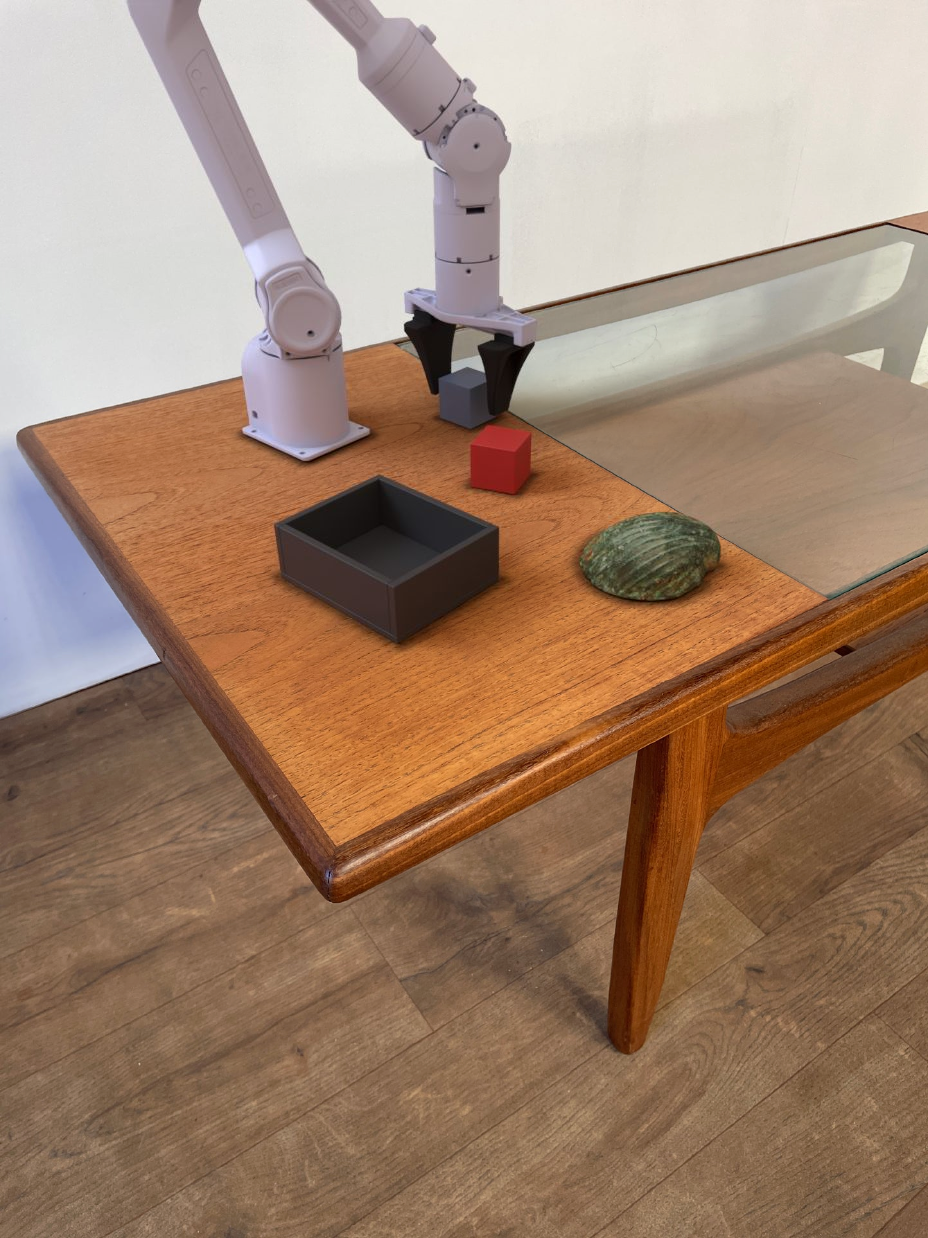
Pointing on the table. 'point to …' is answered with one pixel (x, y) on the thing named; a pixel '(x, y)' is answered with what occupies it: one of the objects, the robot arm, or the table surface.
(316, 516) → the bin
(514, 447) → the red block
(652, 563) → the seashell
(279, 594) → the table surface
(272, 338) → the robot arm
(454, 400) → the blue block
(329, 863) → the table surface
